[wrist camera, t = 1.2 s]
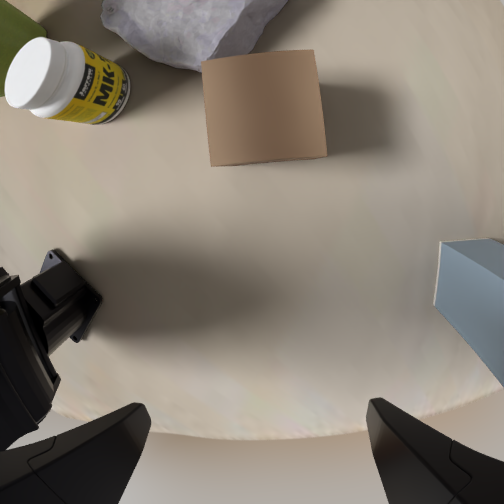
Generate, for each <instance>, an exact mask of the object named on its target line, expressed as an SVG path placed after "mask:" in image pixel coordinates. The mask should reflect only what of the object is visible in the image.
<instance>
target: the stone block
mask: <svg viewBox="0 0 504 504" xmlns="http://www.w3.org/2000/svg"><path fill="white" fill-rule="evenodd" d="M287 1H288V0H103V2H102V5H101V6H102V8H103V12H102V14H101V15H100V18H101V20H102V23H103V26H104V27H106V28H107V29H109V30H110V31H112V32H115V33H117V34H118V35H119V36H121V37H122V38H123V39H124V41H125V42H126V43H128V44H130V45H131V46H132V47H133V48H134V49H136V50H138V51H139V52H141V53H142V54H144V55H145V56H146V57H148V58H149V59H151V60H153V61H155V62H161V63H165V64H166V65H170V66H173V67H175V68H183V69H192V70H195V71H198V72H201V73H202V68H201V61H206V60H212V59H218V58H224V57H231V56H238V55H245V54H248V53H249V52H250V51H251V50H253V48H254V45H255V44H256V42H257V40H258V38H259V37H260V35H262V34H263V30H264V27H265V25H266V24H267V23H268V22H269V21H270V20H271V19H273V18H274V16H276V15H277V14H278V12H279V11H280V10H281V9H282V8H283V7H284V5H285V4H286V3H287Z"/></svg>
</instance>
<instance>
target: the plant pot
mask: <svg viewBox="0 0 504 504" xmlns="http://www.w3.org/2000/svg"><path fill="white" fill-rule="evenodd" d="M46 34H47V32H46V30H45V29H44V28H43V27H42V26H40V25H39V24H38V23H36V22H35V21H34V20H32V19H31V18H30V17H28V16H27V15H25V14H24V13H23V12H21V11H20V10H18V9H17V8H15V7H14V6H13V5H11V4H10V3H8V2H7V1H5V0H0V97H2V96H5V80H6V76H7V73H8V70H9V67H10V65H11V63H12V61H13V59H14V58H15V56H16V55H17V53H18V52H19V51H20V50H21V48H22V47H23V46H24V45H25V44H27V43H28V42H29V41H31V40H32V39H35V38H38V37H45V38H46Z"/></svg>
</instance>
